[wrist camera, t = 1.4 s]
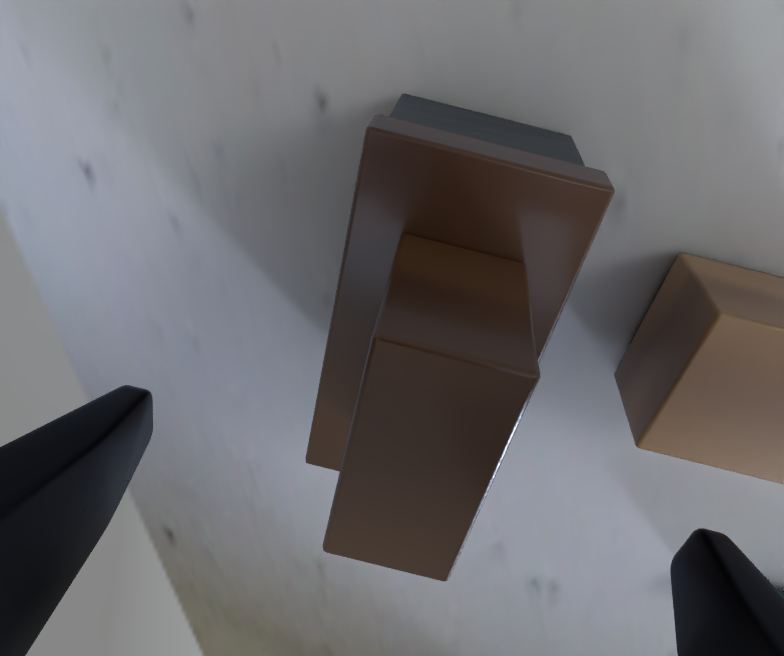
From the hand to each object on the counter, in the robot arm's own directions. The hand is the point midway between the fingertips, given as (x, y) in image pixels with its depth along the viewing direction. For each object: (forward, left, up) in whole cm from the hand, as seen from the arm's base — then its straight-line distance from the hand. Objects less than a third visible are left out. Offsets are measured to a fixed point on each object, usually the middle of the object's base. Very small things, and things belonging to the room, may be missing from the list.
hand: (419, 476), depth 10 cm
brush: (0, 0, -7) cm, 7 cm away
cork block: (0, -7, -7) cm, 10 cm away
